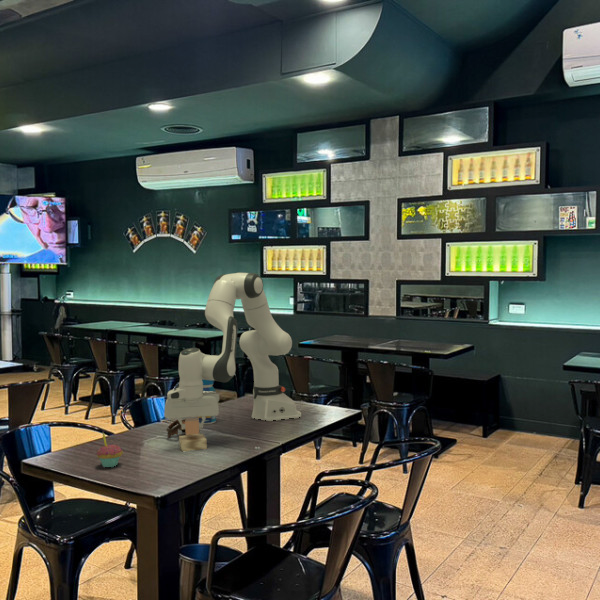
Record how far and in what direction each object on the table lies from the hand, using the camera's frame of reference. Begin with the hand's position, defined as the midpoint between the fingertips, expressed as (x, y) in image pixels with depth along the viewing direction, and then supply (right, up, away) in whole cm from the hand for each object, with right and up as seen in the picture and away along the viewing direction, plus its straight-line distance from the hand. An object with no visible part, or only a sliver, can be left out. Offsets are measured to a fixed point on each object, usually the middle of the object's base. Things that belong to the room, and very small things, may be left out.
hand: (192, 428), depth 236 cm
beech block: (0, -8, 0) cm, 8 cm away
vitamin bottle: (0, -6, +39) cm, 39 cm away
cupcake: (-25, -9, -20) cm, 33 cm away
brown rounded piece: (-7, -7, +16) cm, 18 cm away
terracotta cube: (0, -2, 0) cm, 2 cm away
